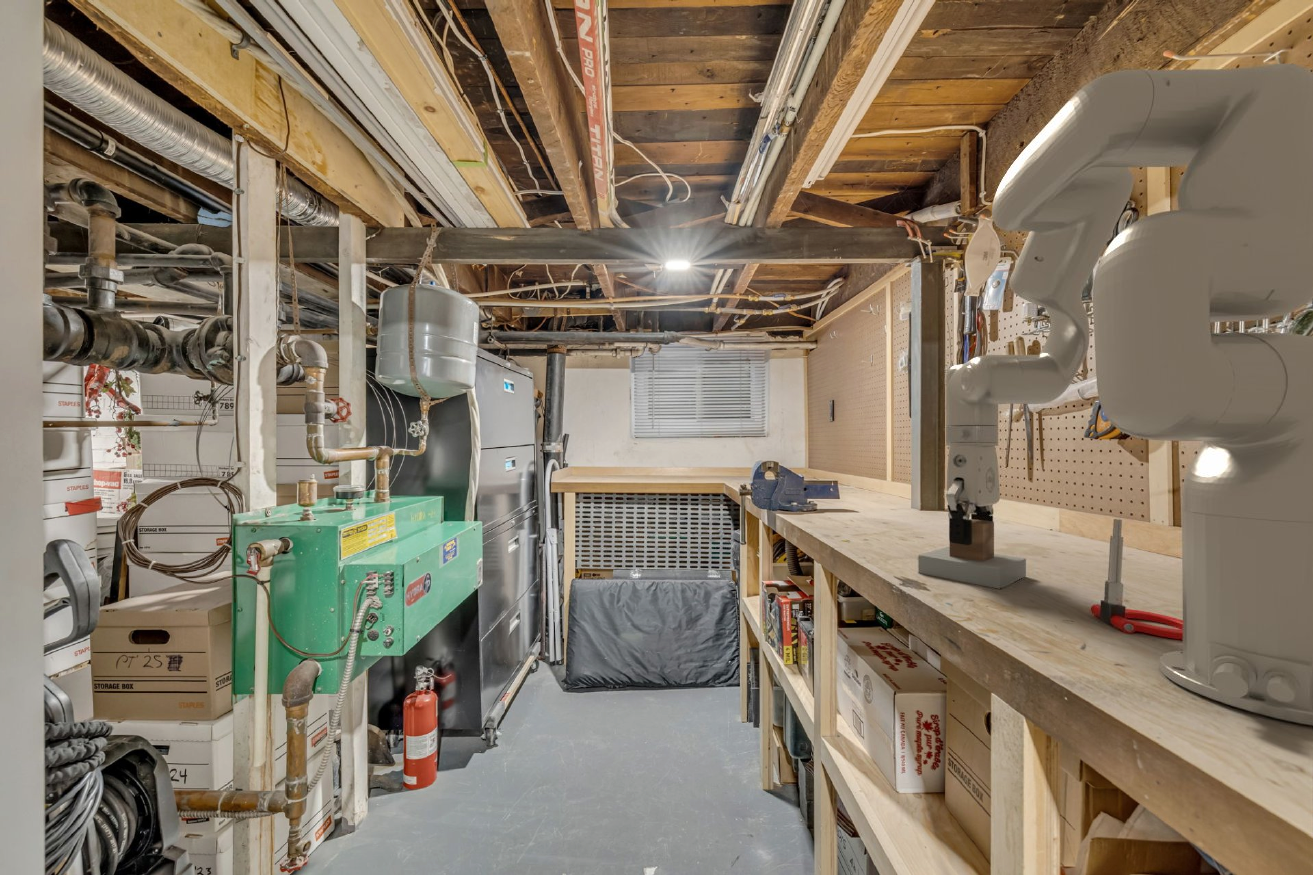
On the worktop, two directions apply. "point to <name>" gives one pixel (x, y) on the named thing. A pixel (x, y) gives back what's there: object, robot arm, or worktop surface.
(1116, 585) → the red and grey piece
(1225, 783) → the worktop surface
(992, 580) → the base slab
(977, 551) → the walnut block
